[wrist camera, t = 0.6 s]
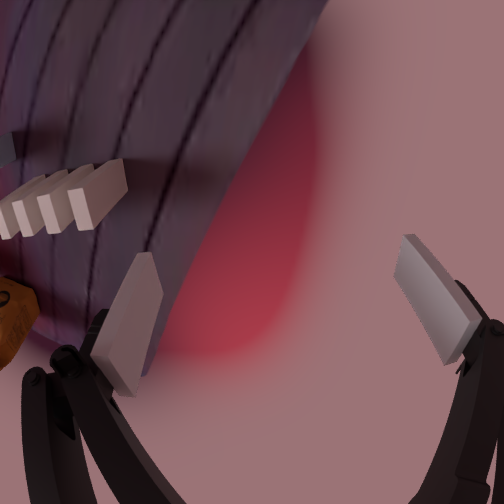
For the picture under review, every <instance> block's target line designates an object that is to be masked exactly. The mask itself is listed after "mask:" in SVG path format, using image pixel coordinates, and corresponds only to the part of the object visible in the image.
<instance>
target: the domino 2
mask: <svg viewBox="0 0 504 504" xmlns="http://www.w3.org/2000/svg"><path fill="white" fill-rule="evenodd" d="M44 179H46V177H45V174H44V175H41V176H37V177H35V178H33V179H32V180H30V181H28V182H27V183H25V184H24V185H22V186H21V187H19V188H18V189H16V190H15V191H13V192H12V193H11V194H9V195H8V196H6V197H5V198H4V199H2V200H1V201H0V235H1V237H2V240H4V239H11V238H12V237H13V236H14V235H15V234H16V233H17V232H18V231H20V230H21V229H20V227H19V224H18V221H17V218H16V215H15V212H14V209H13V206H12V202H13V201H14V200H16V199H17V198H18V197H20V196H21V195H22V194H24V193H25V192H27V191H28V190H30V189H31V188H32V187H34V186H35V185H37V184H38V183H40V182H41V181H43V180H44Z"/></svg>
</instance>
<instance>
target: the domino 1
mask: <svg viewBox="0 0 504 504" xmlns="http://www.w3.org/2000/svg"><path fill="white" fill-rule="evenodd" d="M16 159H17V158H16V153H15V148H14V143H13V138H12V132H10V133H7V134H5V135H2V136H0V168H1V167H3V166H5V165H7V164H8V163H10V162H12V161H14V160H16Z"/></svg>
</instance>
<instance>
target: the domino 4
mask: <svg viewBox="0 0 504 504" xmlns="http://www.w3.org/2000/svg"><path fill="white" fill-rule="evenodd" d="M93 171H94V166H93V164H88V165H84V166H80V167H79V168H77V169H76V170H74V171H73V172H71V173H70V174H68V175H67V176H65V177H64V178H62V179H61V180H59V181H58V182H56V183H55V184H54V185H52V186H51V187H49V188H48V189H47V190H45V191H44V192H42V193H41V194H40V195H38V196H37V200H38V204H39V207H40V210H41V213H42V217H43V220H44V223H45V226H46V229H47V232H48V234H53V233H61V232H62V231H63V230H64V229H65V228H66V227H67V226H68V225H69V224H70V223H71V222H72V221H73V220H74V219H75V217H74V214H73V210H72V207H71V203H70V199H69V196H68V192H67V190H69V189H70V188H71V187H73V186H74V185H75V184H77V183H78V182H79V181H81V180H82V179H83V178H85V177H86V176H87V175H89V174H90V173H92V172H93Z"/></svg>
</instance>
